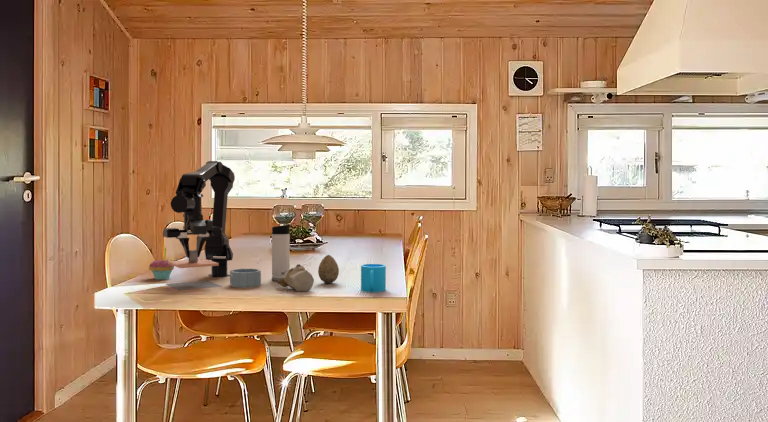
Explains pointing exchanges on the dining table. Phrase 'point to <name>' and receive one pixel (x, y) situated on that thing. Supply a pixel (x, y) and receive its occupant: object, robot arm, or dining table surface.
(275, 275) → the travel mug
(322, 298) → the dining table surface
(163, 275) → the cupcake
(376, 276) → the mug
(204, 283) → the mat
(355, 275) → the dining table surface
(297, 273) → the ceramic sculpture
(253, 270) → the bowl
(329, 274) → the decorative egg
